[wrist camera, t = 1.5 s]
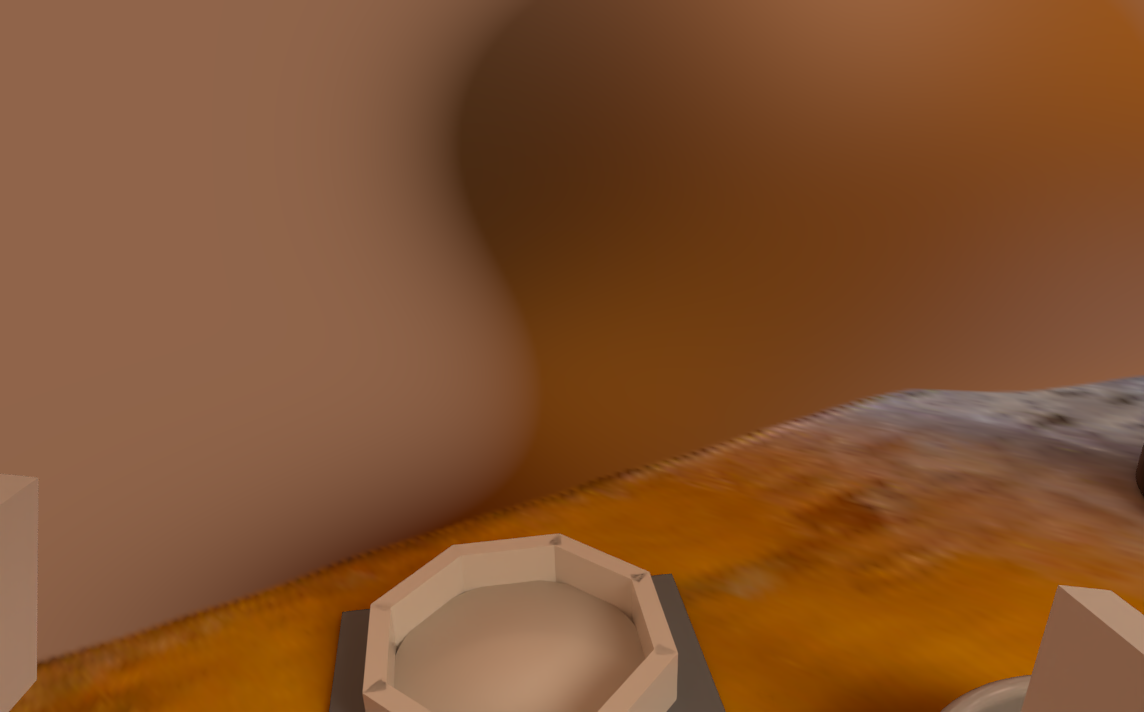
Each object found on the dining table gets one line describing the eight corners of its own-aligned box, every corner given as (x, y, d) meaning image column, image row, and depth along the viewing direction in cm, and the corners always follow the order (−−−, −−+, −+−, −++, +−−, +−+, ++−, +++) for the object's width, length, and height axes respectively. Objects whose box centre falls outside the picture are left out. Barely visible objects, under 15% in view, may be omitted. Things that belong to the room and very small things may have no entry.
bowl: (632, 566, 50) (632, 525, 49) (700, 772, 38) (703, 723, 36) (381, 595, 48) (375, 553, 47) (364, 821, 36) (355, 771, 35)
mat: (671, 579, 50) (671, 573, 49) (761, 813, 36) (762, 806, 36) (343, 618, 47) (342, 611, 47) (308, 882, 34) (307, 874, 34)
